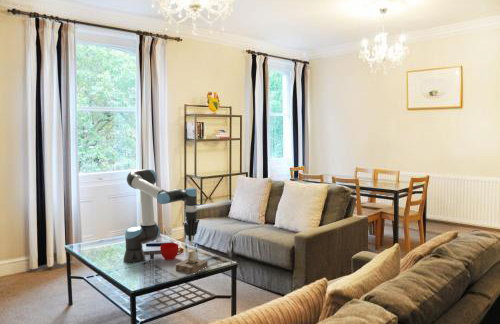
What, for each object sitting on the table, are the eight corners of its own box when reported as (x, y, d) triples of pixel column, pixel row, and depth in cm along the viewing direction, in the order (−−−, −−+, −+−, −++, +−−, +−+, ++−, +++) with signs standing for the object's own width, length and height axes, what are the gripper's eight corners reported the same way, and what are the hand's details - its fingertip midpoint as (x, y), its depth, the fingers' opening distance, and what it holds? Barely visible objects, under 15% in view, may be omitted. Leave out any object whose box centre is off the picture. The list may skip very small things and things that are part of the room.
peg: (186, 269, 287) (186, 251, 286) (191, 266, 292) (190, 249, 291) (193, 270, 285) (192, 252, 284) (197, 267, 290) (197, 250, 288)
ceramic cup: (179, 262, 300) (179, 249, 299) (157, 261, 303) (157, 247, 302) (186, 256, 312) (186, 243, 311) (164, 255, 316) (164, 242, 315)
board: (175, 270, 285) (175, 264, 284) (189, 263, 299) (189, 257, 298) (194, 274, 278) (194, 268, 278) (207, 266, 292) (207, 260, 292)
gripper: (187, 213, 277) (187, 248, 280) (202, 210, 287) (202, 244, 289) (180, 211, 282) (180, 246, 285) (194, 208, 292) (194, 241, 294)
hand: (191, 245), depth 287 cm, fingers closed
